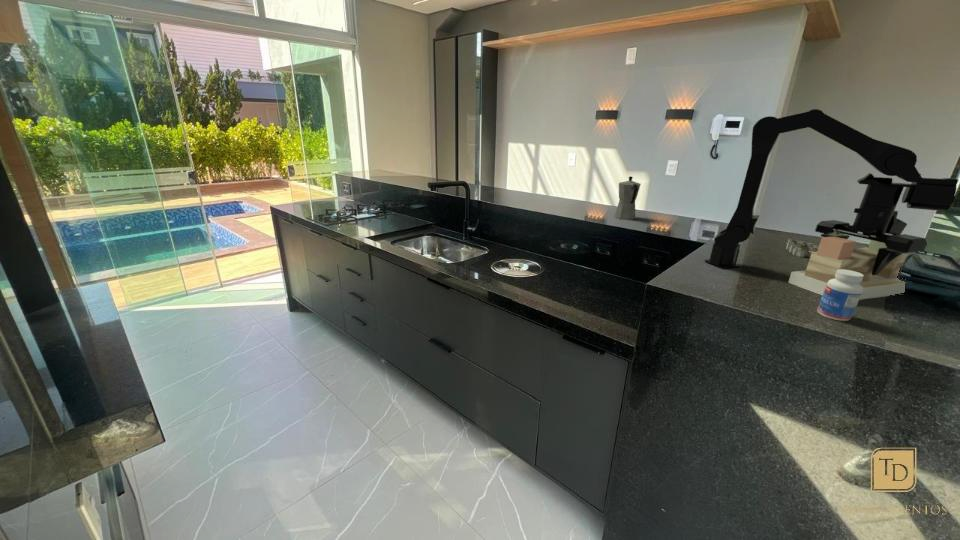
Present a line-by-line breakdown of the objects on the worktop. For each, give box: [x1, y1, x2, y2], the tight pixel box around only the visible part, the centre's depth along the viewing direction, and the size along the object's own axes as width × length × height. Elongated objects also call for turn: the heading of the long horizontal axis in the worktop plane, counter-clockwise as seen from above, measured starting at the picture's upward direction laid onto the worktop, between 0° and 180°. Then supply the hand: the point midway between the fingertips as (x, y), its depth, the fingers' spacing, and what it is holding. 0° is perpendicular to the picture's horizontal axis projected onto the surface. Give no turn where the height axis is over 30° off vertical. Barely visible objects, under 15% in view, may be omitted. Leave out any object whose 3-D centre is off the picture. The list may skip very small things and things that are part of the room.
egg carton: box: [785, 237, 819, 258], centre depth 119 cm, size 11×8×4 cm
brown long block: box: [805, 246, 908, 283], centre depth 91 cm, size 21×6×6 cm, turn 104°
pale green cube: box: [868, 233, 893, 251], centre depth 91 cm, size 4×4×4 cm
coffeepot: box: [614, 176, 641, 221], centre depth 163 cm, size 15×9×18 cm, turn 178°
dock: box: [787, 269, 906, 301], centre depth 92 cm, size 22×12×3 cm, turn 104°
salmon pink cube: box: [816, 236, 857, 259], centre depth 87 cm, size 4×4×4 cm
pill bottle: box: [816, 269, 864, 322], centre depth 77 cm, size 6×5×10 cm
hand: (853, 269), depth 91 cm, fingers open, 8 cm apart
